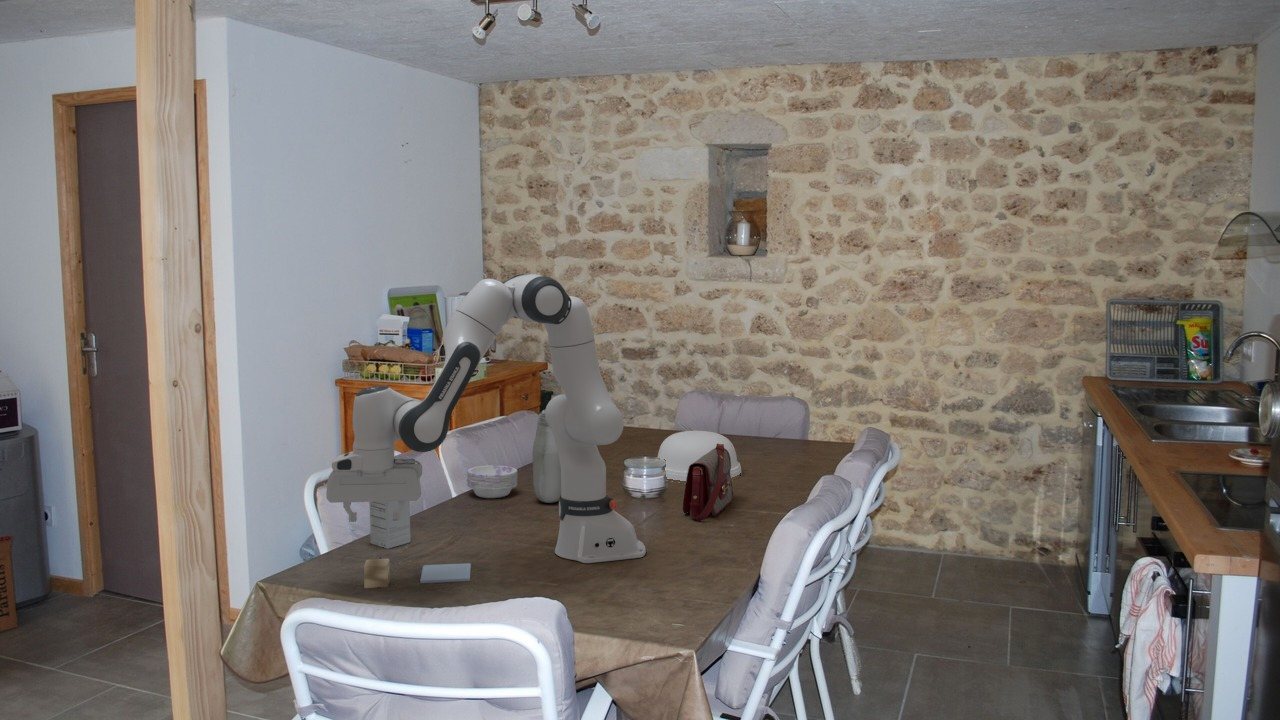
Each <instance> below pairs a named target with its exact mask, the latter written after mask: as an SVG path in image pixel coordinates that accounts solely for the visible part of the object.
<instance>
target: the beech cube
mask: <svg viewBox="0 0 1280 720" xmlns="http://www.w3.org/2000/svg"><path fill="white" fill-rule="evenodd" d="M390 565H391V564H390V558H377V559H376V558H373V559H370V558H369V559H366V560H365V562H364V565H363V578H364V579H363V580H364V581H363V584H364V589H376V588H377V587H381V588H388V587H389V584H390V581H391V575H390V574H391V571H390V569H391V568H390ZM377 589H378V588H377Z"/></svg>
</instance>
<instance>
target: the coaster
mask: <svg viewBox="0 0 1280 720" xmlns="http://www.w3.org/2000/svg"><path fill="white" fill-rule="evenodd" d="M471 568H472V563H470V562H469V563H467V562H466V563H464V562H463V563H445V564H444V563H442V564H424V565H422V570H421V576H420V579H419V580H420V581H419V582H420V584H432V583H433V584H434V583H435V584H437V583H452V582H453V583H456V582H457V583H459V582H471V571H472V569H471Z"/></svg>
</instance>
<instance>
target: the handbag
mask: <svg viewBox="0 0 1280 720" xmlns="http://www.w3.org/2000/svg"><path fill="white" fill-rule="evenodd" d="M730 470H731V459H730V454H729V452H728V451H727V450H726V449H725V448H724V444H717V445H716V448H715V449H713V450H711V451H710V452H708V453H707V454H705V455H704V456H702V457H701V458H699V459H698V460H697V461H696V462H694V463H693V464H691V465H690V466H689V469H688V473H687V479H686V483H685V486H684V487H685V488H684V495H683V503H682V512H683V513H684V514H688V513H689V515H690V518H692V519H694V520H696V521H699V520H702V521H703V520H705V519H707V518H708V516H709V515H710V514H711V515H712V516H713V517H717V516H718V515H719V514H720V513H721V512H723V509H724V508H725V507H726V506H727V505H728V504H729V503H730V504H731V502H732V500H733V496H734V491H733V485H732V481H731V476H730ZM730 504H729V505H730ZM729 505H728V506H729ZM728 506H727V507H728ZM727 507H726V508H727ZM726 508H725V509H726ZM725 509H724V510H725ZM720 511H721V512H720ZM687 512H688V513H687ZM719 512H720V513H719ZM718 513H719V514H718ZM717 514H718V515H717ZM716 515H717V516H716Z"/></svg>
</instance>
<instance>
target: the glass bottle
mask: <svg viewBox="0 0 1280 720" xmlns="http://www.w3.org/2000/svg"><path fill="white" fill-rule="evenodd" d="M545 410H546V408H545V409H543V410H542V411H540V413H539V414H538V416H537V425H536V426H537V427H536V433H535V437H534V441H533V445H532V485H533V486H532V487H533V491H534V494H535V496H536V498H537V499H538V500H539V501H541V502H542V503H545V504H555V503H558V502H559V498H560V496H561V467H560V459H559V455H558V450H557V446H556V442H555V439H554V435H553V433H552V430H551V429H550V427H549V425H548V424H547V422H546V419H545Z"/></svg>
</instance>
